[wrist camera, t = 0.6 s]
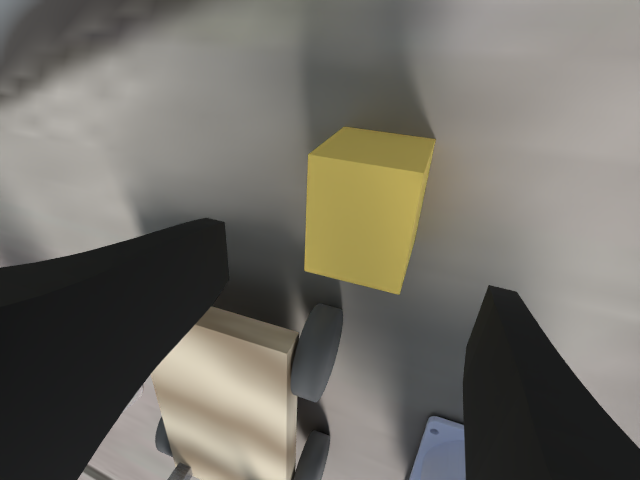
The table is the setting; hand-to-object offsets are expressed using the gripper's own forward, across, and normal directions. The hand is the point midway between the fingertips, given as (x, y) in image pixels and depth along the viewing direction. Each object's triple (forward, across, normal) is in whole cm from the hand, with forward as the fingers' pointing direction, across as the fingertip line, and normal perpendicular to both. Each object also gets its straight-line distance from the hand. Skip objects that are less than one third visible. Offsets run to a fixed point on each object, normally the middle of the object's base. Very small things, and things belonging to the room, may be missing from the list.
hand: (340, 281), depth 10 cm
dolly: (+8, +8, +16) cm, 19 cm away
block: (+9, +1, +1) cm, 9 cm away
